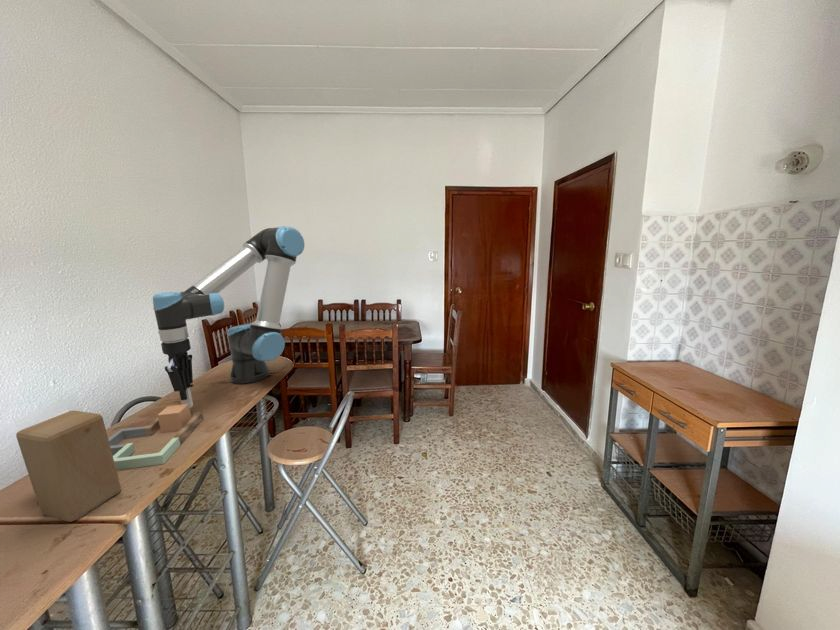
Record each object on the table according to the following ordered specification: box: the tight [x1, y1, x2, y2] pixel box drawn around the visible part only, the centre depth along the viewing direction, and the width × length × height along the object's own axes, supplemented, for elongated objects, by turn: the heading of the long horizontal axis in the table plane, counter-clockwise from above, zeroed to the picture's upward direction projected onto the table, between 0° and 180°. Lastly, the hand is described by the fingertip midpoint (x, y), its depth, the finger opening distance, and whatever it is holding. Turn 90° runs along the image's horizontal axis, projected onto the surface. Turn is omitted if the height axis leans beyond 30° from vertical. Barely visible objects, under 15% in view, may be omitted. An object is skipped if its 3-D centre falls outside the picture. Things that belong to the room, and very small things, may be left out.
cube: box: [157, 404, 193, 434], centre depth 107 cm, size 6×6×6 cm
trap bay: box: [108, 425, 148, 456], centre depth 98 cm, size 11×8×2 cm
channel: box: [145, 411, 204, 446], centre depth 103 cm, size 15×13×2 cm
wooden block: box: [16, 410, 122, 523], centre depth 74 cm, size 10×10×20 cm
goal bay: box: [113, 437, 181, 471], centre depth 91 cm, size 8×13×2 cm, turn 100°
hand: (187, 407), depth 115 cm, fingers closed
